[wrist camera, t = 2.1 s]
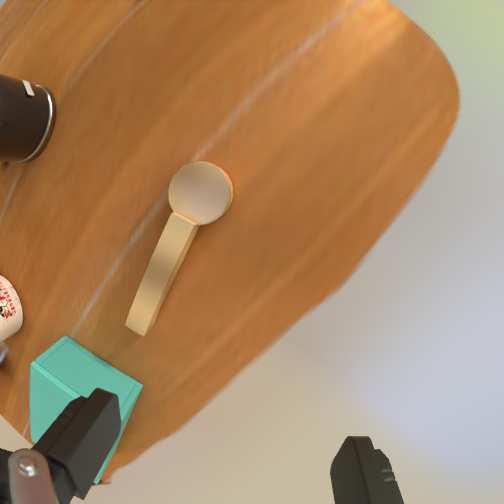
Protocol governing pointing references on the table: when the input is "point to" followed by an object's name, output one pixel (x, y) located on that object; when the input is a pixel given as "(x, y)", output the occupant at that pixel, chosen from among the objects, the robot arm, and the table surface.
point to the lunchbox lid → (48, 402)
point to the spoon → (179, 235)
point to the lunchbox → (90, 377)
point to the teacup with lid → (9, 310)
